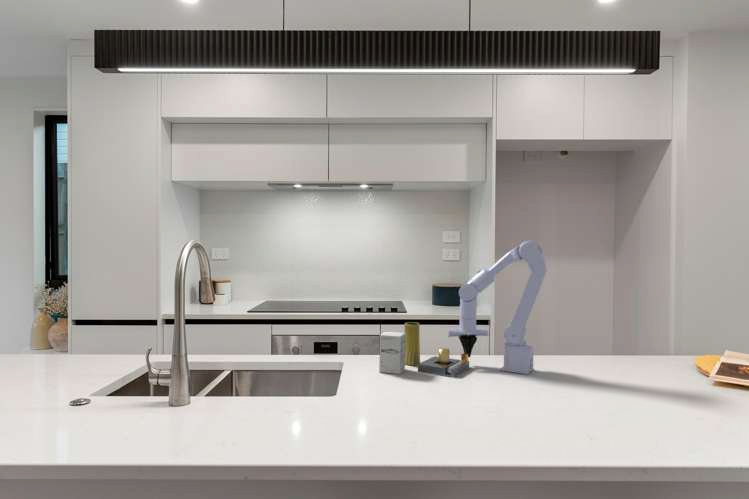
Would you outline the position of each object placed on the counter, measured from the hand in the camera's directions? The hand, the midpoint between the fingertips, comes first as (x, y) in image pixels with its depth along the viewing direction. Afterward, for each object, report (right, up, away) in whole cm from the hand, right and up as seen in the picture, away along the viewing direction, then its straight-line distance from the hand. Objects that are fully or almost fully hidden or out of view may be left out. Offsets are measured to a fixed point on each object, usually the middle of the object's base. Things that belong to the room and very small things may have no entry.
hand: (467, 356), depth 179 cm
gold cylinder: (-9, -3, -6) cm, 11 cm away
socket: (-9, -3, -6) cm, 12 cm away
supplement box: (-27, -3, -8) cm, 28 cm away
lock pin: (-5, -2, -7) cm, 9 cm away
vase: (-19, -3, +2) cm, 20 cm away
